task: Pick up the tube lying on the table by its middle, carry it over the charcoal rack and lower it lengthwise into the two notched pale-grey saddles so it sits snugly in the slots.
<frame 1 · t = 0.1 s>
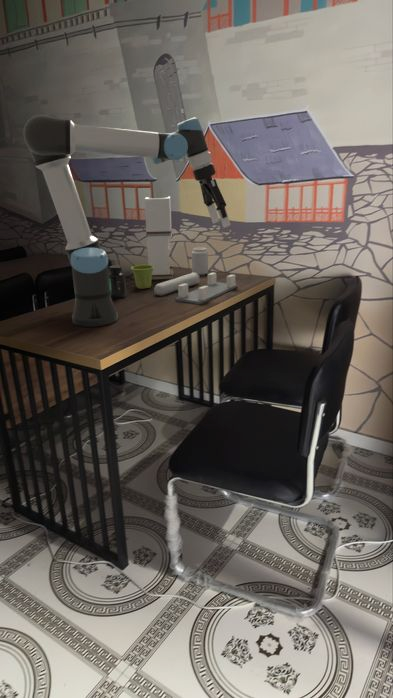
hand: (221, 224, 181), 28 cm above the table, tool tilted 20°, fingers open, 13 cm apart
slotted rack: (208, 293, 198), on the table
supplement bottle: (117, 296, 197), on the table
tube: (176, 290, 205), on the table
can: (200, 274, 232), on the table
brown-trimmed grey box: (161, 276, 229), on the table
plant pot: (143, 287, 210), on the table
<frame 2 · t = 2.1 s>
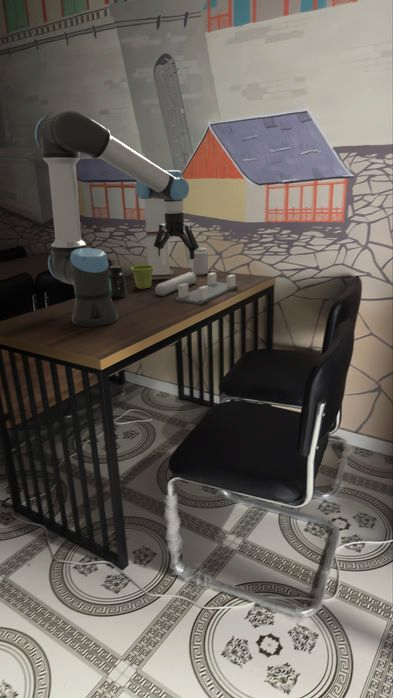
hand: (176, 265, 202), 10 cm above the table, tool pointing down, fingers open, 13 cm apart
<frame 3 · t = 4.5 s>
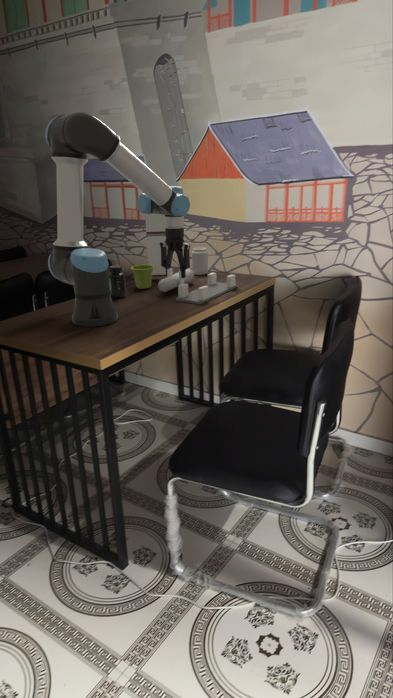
hand: (175, 284, 204), 2 cm above the table, tool pointing down, fingers closed on tube, 5 cm apart
tube: (176, 286, 204), point 1 cm above the table, touching gripper
everything else where it was.
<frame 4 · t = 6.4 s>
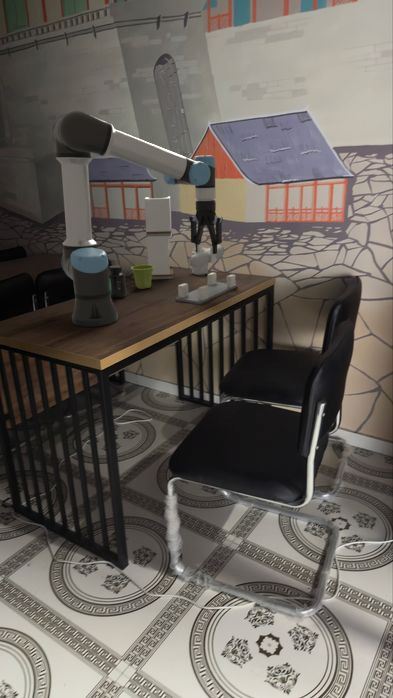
hand: (206, 261, 193), 13 cm above the table, tool pointing down, fingers closed on tube, 5 cm apart
tube: (206, 263, 194), point 12 cm above the table, touching gripper
everything else where it was.
when the fingers open (1 cm above the table, at t = 8.1 s): tube stays where it is, resting on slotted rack.
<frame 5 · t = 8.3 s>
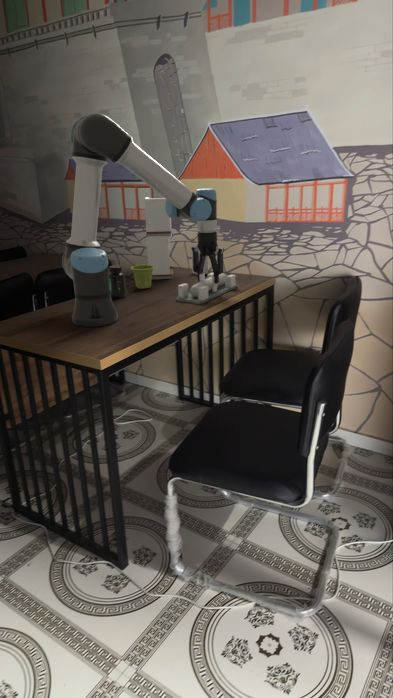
hand: (208, 290, 197), 1 cm above the table, tool pointing down, fingers open, 5 cm apart
tube: (208, 291, 197), point 1 cm above the table, touching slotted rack
everything else where it was.
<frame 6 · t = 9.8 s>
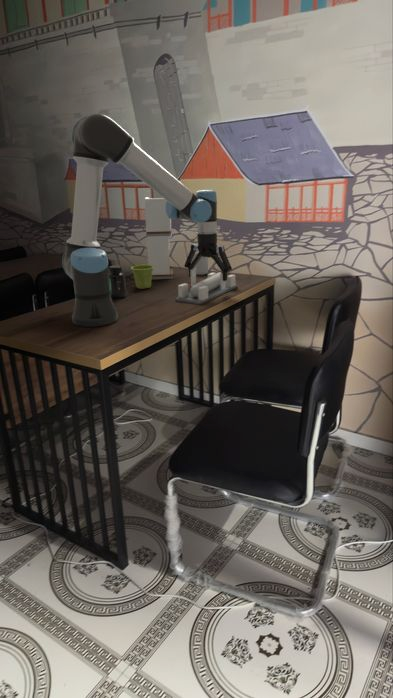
hand: (207, 286, 197), 3 cm above the table, tool pointing down, fingers open, 13 cm apart
nothing on the table moved.
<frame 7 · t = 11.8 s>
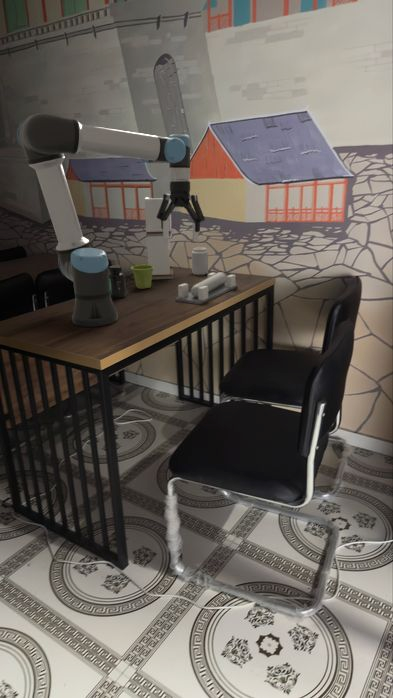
hand: (180, 239, 188), 22 cm above the table, tool pointing down, fingers open, 13 cm apart
nothing on the table moved.
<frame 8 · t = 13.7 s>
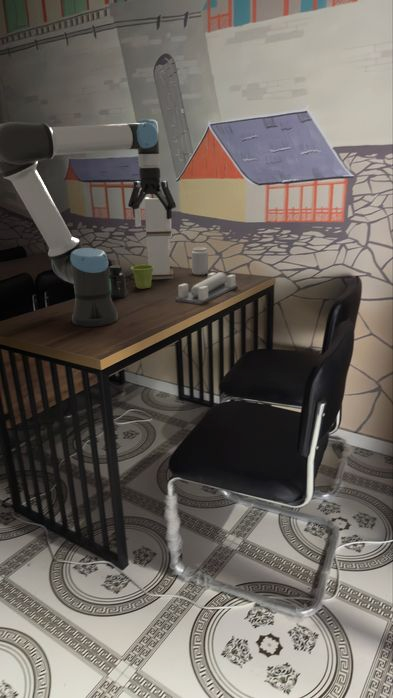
hand: (152, 227, 186), 27 cm above the table, tool pointing down, fingers open, 13 cm apart
nothing on the table moved.
at the end: tube inside the target area on the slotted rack (0.4 cm from its centre), point 0.8 cm above the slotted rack's base; the gripper is holding nothing; tube moved 15.3 cm from its start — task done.
